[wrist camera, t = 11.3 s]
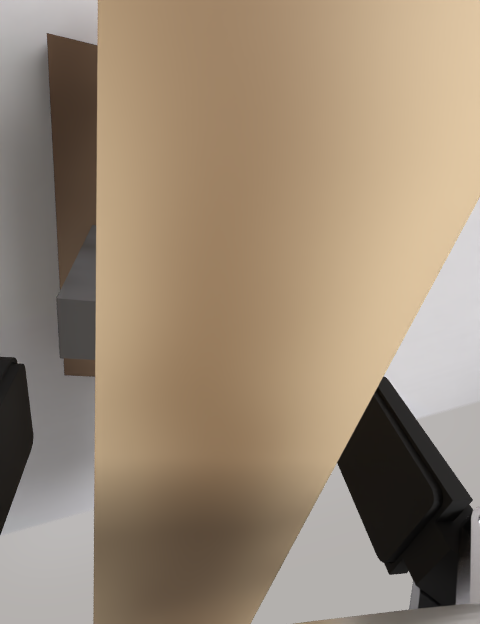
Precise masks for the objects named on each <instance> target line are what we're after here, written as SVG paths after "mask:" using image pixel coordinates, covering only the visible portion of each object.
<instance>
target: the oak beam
mask: <svg viewBox="0 0 480 624" xmlns="http://www.w3.org/2000/svg"><path fill="white" fill-rule="evenodd" d="M479 197H480V0H98V63H97V204H96V345H95V486H94V624H251V622H252V620H253V618H254V616H255V614H256V612H257V610H258V609H259V607H260V605H261V603H262V601H263V599H264V597H265V596H266V594H267V592H268V590H269V588H270V586H271V584H272V582H273V581H274V579H275V577H276V575H277V573H278V571H279V570H280V568H281V566H282V564H283V562H284V560H285V558H286V556H287V554H288V553H289V551H290V549H291V547H292V545H293V543H294V541H295V540H296V538H297V536H298V534H299V532H300V530H301V528H302V527H303V525H304V523H305V521H306V519H307V517H308V516H309V514H310V512H311V510H312V508H313V506H314V504H315V503H316V501H317V499H318V497H319V495H320V493H321V491H322V490H323V488H324V486H325V484H326V482H327V480H328V478H329V476H330V475H331V473H332V471H333V469H334V467H335V465H336V463H337V462H338V460H339V458H340V456H341V454H342V452H343V450H344V449H345V447H346V445H347V443H348V441H349V439H350V437H351V436H352V434H353V432H354V430H355V428H356V426H357V424H358V423H359V421H360V419H361V417H362V415H363V413H364V411H365V409H366V408H367V406H368V404H369V402H370V400H371V398H372V396H373V395H374V393H375V391H376V389H377V387H378V385H379V383H380V382H381V380H382V378H383V376H384V374H385V372H386V370H387V369H388V367H389V365H390V363H391V361H392V359H393V357H394V356H395V354H396V352H397V350H398V348H399V346H400V344H401V342H402V341H403V339H404V337H405V335H406V333H407V331H408V329H409V328H410V326H411V324H412V322H413V320H414V318H415V316H416V315H417V313H418V311H419V309H420V307H421V305H422V303H423V302H424V300H425V298H426V296H427V294H428V292H429V290H430V289H431V287H432V285H433V283H434V281H435V279H436V277H437V276H438V274H439V272H440V270H441V268H442V266H443V264H444V262H445V261H446V259H447V257H448V255H449V253H450V251H451V249H452V248H453V246H454V244H455V242H456V240H457V238H458V236H459V235H460V233H461V231H462V229H463V227H464V225H465V223H466V222H467V220H468V218H469V216H470V214H471V212H472V210H473V209H474V207H475V205H476V203H477V201H478V199H479Z"/></svg>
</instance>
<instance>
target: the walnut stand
mask: <svg viewBox="0 0 480 624" xmlns="http://www.w3.org/2000/svg"><path fill="white" fill-rule="evenodd" d="M47 45H48V65H49V84H50V104H51V123H52V143H53V162H54V181H55V201H56V220H57V240H58V259H59V279H60V292H59V294H58V296H57V315H58V333H59V350H60V358H64V375H71V376H94V377H95V345H96V204H97V63H98V46H97V45H93V44H89V43H85V42H81V41H77V40H73V39H69V38H65V37H61V36H56V35H52V34H48V33H47Z"/></svg>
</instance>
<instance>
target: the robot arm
mask: <svg viewBox="0 0 480 624" xmlns="http://www.w3.org/2000/svg"><path fill="white" fill-rule="evenodd" d="M32 444H33V428H32V420H31V412H30V404H29V396H28V387H27V379H26V371H25V366H24V364H17V360H16V358H12V357H0V534H1V532H2V529H3V526H4V523H5V521H6V518H7V515H8V512H9V510H10V507H11V504H12V501H13V499H14V496H15V493H16V490H17V487H18V485H19V482H20V479H21V476H22V474H23V471H24V468H25V465H26V463H27V460H28V457H29V454H30V452H31V448H32ZM337 463H338V466H339V468H340V470H341V473H342V475H343V477H344V480H345V482H346V484H347V487H348V489H349V491H350V493H351V496H352V498H353V501H354V503H355V505H356V508H357V510H358V512H359V515H360V517H361V519H362V522H363V524H364V526H365V529H366V531H367V533H368V536H369V538H370V541H371V543H372V545H373V547H374V550H375V552H376V555H377V556H378V558H379V559H380V561H382V562H383V563H385V566H386V568H387V570H388V573H389V574H390V575H392V574H402V573H407V572H408V571H409V572H410V574H411V576H412V578H413V586H412V593H411V600H410V607H409V610H403V611H394V612H387V613H378V614H369V615H361V616H352V617H344V618H336V619H328V620H320V621H311V622H304V623H296V624H480V507H477V508H476V509H474V510H473V509H472V508H471V506H470V505H469V504H470V503H471V502H472V500H473V499H472V498H471V497H470V495H469V494H468V492H467V491H466V489H465V488H464V487H463V485H462V484H461V482H460V481H459V480H458V478H457V477H456V475H455V474H454V472H453V471H452V470H451V468H450V467H449V466H448V464H447V462H446V461H445V460H444V458H443V457H442V455H441V454H440V453H439V451H438V450H437V448H436V447H435V446H434V444H433V443H432V441H431V440H430V438H429V437H428V435H427V434H426V433H425V431H424V430H423V428H422V427H421V426H420V424H419V423H418V421H417V420H416V418H415V417H414V416H413V414H412V413H411V411H410V410H409V409H408V407H407V406H406V404H405V403H404V401H403V400H402V399H401V397H400V396H399V394H398V393H397V392H396V390H395V389H394V387H393V386H392V384H391V383H390V382H389V380H388V379H387V378H386V377H383V378H382V380H381V382H380V383H379V385H378V387H377V389H376V391H375V393H374V395H373V396H372V398H371V400H370V402H369V404H368V406H367V408H366V409H365V411H364V413H363V415H362V417H361V419H360V421H359V423H358V424H357V426H356V428H355V430H354V432H353V434H352V436H351V437H350V439H349V441H348V443H347V445H346V447H345V449H344V450H343V452H342V454H341V456H340V458H339V460H338V462H337Z"/></svg>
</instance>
